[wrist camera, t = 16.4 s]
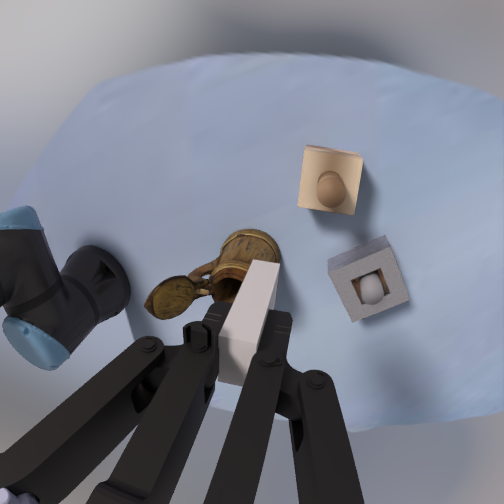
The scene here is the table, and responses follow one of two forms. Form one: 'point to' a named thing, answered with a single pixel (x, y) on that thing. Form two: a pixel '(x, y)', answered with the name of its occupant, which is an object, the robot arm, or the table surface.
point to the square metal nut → (361, 263)
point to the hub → (371, 286)
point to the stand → (330, 179)
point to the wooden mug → (214, 275)
